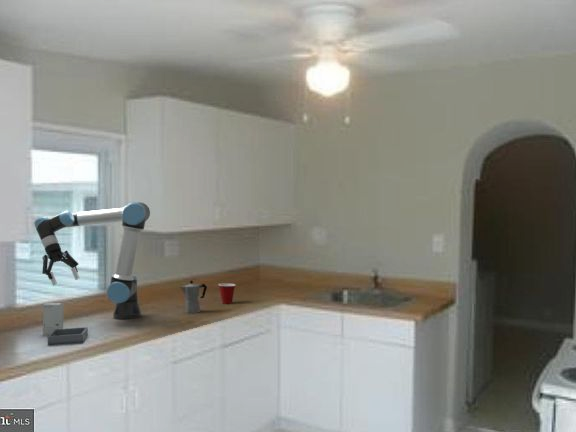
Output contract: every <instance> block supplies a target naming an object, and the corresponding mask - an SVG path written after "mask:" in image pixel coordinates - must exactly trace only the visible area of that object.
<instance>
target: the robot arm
mask: <svg viewBox="0 0 576 432" xmlns="http://www.w3.org/2000/svg"><path fill="white" fill-rule="evenodd" d="M150 216H151V211H150V207H149V206H148V204H146V203H144V202H140V201H139V202H135V201H134V202H133V201H132V202H129V203H127V204H126V205H124V207H118V208H117V207H116V208H107V209H98V210H89V211H87V210H86V211H77V212H71V211H70V210H65V211H63V212H60V213H59V214H57V215H55V216H52V217H51V218H49V217H48V216H42V217H39V218H37V219H35V220H34V226H35V229H36V231H37V235H38V236H39V238H40V239H39V240H40V241H41V244H42V246H43V248H44V250H45V254H44V255H43V256H42V274H44V275H46V276H47V277H48V280H50V282H51V284H52V286H56V285H57V284H58V283H57V280H56V277H55V275H54V273H53V272H51V271H52V268H53V266H54V264H55V263H57V262H61V263H62V262H63V263H64V264H66V265H67V266H68V267H69V268H70V269H71V272H72V275H73V277H74V280H75V281H77V280H79V279H80V276H79V271H78V268H77V266H78V265H79V263H78V261H77V260H75V258H73V256H71V254H69V252H68V250H65V251H62V246H61V245H60V243H59V240H58V237H57V236H56V232H58V231H60V230H62V229H64V228H72V227H80V226H82V227H83V226H90V225H100V224H108V223H109V224H110V223H120V222H122V223H121V226H122V228H123V233H122V237H121V243H120V247H119V248H120V249H119V253H118V259H117V263H116V268H115V272H114V273H113V274H112V275H111V278H110V284H109V285H108V286H107V289H106V295H107V298H108V300H109V301H111V302H112V303H114V304H115V307H114V310H113V314H112V315H113V316H112V317H113V318H114V319H117V320H131V319H136V318H137V319H138V318H139V317H142V310H141V307H140V304H139V299H138V277H137V276H136V275H134V274H133V270H134V267H135V261H136V255H137V251H138V247H139V246H138V245H139V241H140V234H141V232H142V231H143V230H144V229H145V225H146V222H147V220H149V217H150ZM48 260H49V261H48ZM48 262H49V264H48Z"/></svg>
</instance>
